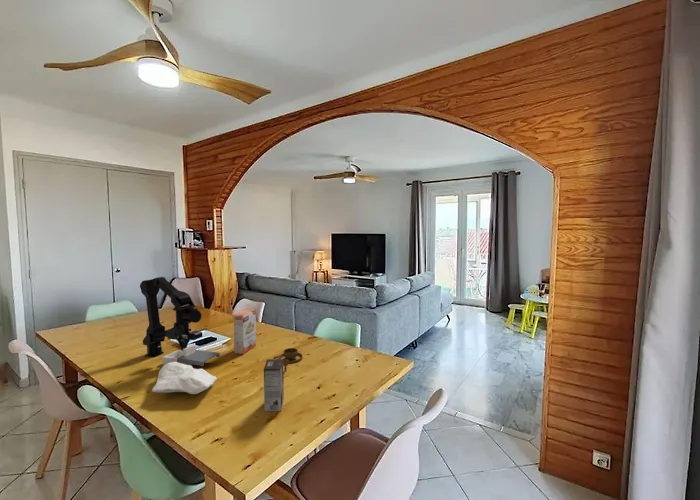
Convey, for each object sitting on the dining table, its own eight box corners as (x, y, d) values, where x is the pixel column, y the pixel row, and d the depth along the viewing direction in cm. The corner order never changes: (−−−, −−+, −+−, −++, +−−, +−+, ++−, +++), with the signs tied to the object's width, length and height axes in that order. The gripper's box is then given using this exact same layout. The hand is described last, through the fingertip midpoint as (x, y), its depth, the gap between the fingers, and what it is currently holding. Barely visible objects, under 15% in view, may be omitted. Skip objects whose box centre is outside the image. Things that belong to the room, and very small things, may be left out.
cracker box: (244, 354, 178) (243, 315, 176) (233, 354, 179) (232, 315, 177) (256, 345, 191) (256, 309, 190) (247, 344, 193) (246, 308, 191)
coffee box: (267, 399, 133) (266, 359, 131) (284, 398, 133) (283, 358, 132) (263, 412, 124) (262, 369, 122) (281, 411, 124) (280, 368, 123)
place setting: (312, 358, 174) (311, 347, 173) (286, 374, 156) (286, 361, 156) (285, 352, 182) (284, 342, 182) (258, 366, 164) (258, 354, 164)
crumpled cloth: (167, 413, 120) (171, 387, 121) (134, 382, 143) (137, 360, 144) (228, 398, 138) (231, 375, 138) (190, 372, 161) (193, 353, 161)
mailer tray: (162, 364, 166) (162, 357, 165) (178, 356, 175) (178, 349, 175) (186, 368, 161) (185, 360, 161) (201, 360, 171) (201, 352, 171)
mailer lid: (177, 362, 162) (176, 350, 161) (195, 353, 173) (194, 342, 172) (203, 365, 157) (202, 354, 157) (219, 356, 168) (219, 345, 168)
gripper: (153, 322, 161) (155, 354, 163) (185, 326, 156) (186, 359, 157) (172, 316, 172) (173, 346, 173) (202, 319, 167) (203, 350, 168)
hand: (183, 350), depth 168 cm, fingers closed
